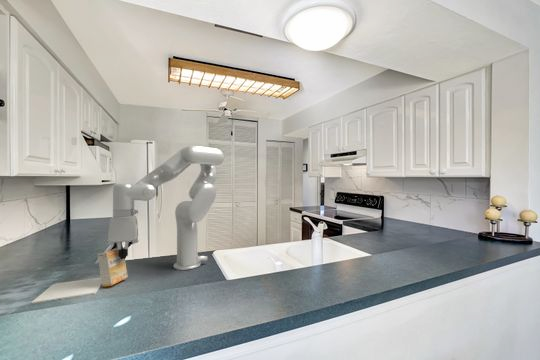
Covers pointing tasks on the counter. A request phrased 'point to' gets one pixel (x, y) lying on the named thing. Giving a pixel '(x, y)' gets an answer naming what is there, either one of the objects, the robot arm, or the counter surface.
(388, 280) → the counter surface
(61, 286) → the mat
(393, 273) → the counter surface
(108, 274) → the supplement box
